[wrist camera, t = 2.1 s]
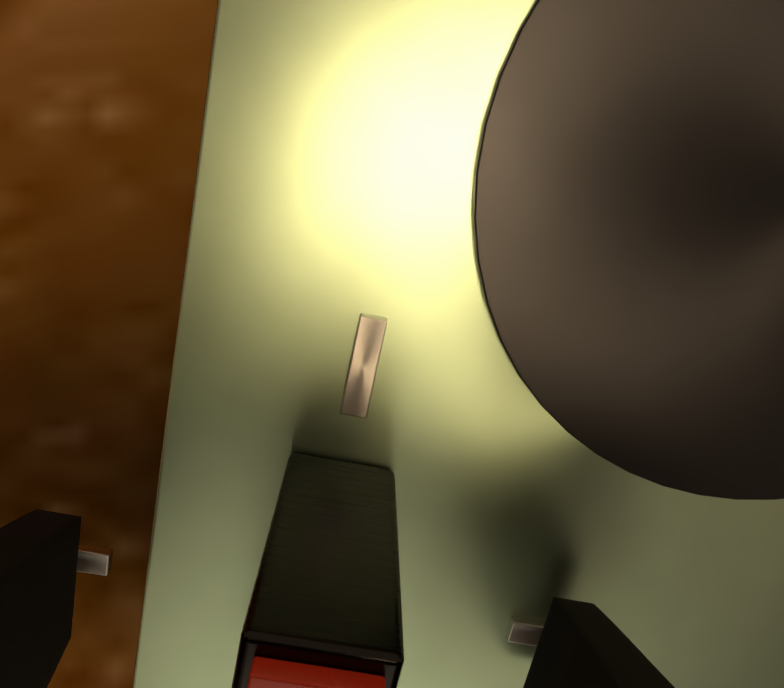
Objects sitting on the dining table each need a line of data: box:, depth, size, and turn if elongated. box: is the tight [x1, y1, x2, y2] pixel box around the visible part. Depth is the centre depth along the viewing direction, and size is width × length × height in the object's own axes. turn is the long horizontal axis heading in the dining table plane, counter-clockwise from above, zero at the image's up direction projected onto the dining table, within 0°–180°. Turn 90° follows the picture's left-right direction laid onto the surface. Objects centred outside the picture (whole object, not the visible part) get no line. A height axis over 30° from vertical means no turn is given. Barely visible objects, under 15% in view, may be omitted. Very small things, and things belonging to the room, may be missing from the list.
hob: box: [77, 0, 784, 688], centre depth 10 cm, size 16×14×3 cm
